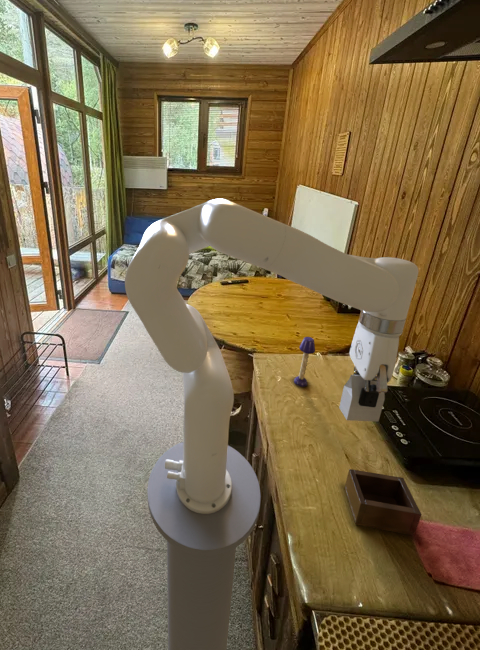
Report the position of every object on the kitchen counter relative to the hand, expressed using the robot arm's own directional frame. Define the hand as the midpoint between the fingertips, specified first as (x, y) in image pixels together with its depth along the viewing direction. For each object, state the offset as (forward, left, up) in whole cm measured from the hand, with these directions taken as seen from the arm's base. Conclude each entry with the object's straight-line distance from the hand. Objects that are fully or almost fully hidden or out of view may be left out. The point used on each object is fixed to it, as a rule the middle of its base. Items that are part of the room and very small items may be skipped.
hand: (362, 396), depth 66 cm
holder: (+4, -9, -21) cm, 23 cm away
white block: (0, 0, -5) cm, 5 cm away
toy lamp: (-5, +30, -21) cm, 37 cm away
